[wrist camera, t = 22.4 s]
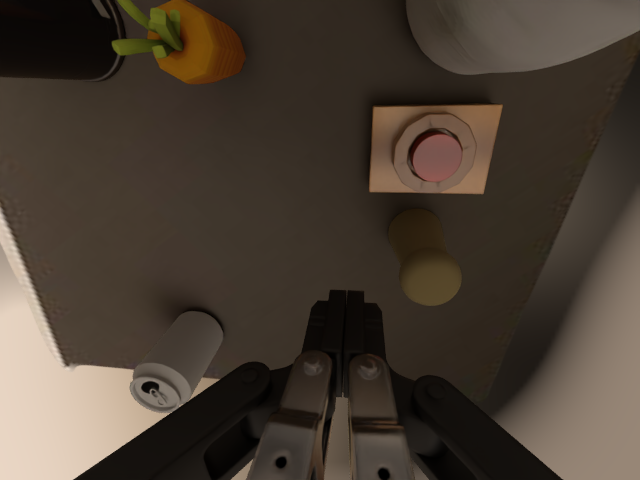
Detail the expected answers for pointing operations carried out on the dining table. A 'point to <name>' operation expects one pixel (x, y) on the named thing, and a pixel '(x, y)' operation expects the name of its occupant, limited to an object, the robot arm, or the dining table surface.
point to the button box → (417, 120)
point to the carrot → (185, 42)
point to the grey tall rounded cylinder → (517, 31)
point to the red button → (436, 156)
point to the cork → (423, 258)
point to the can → (176, 362)
